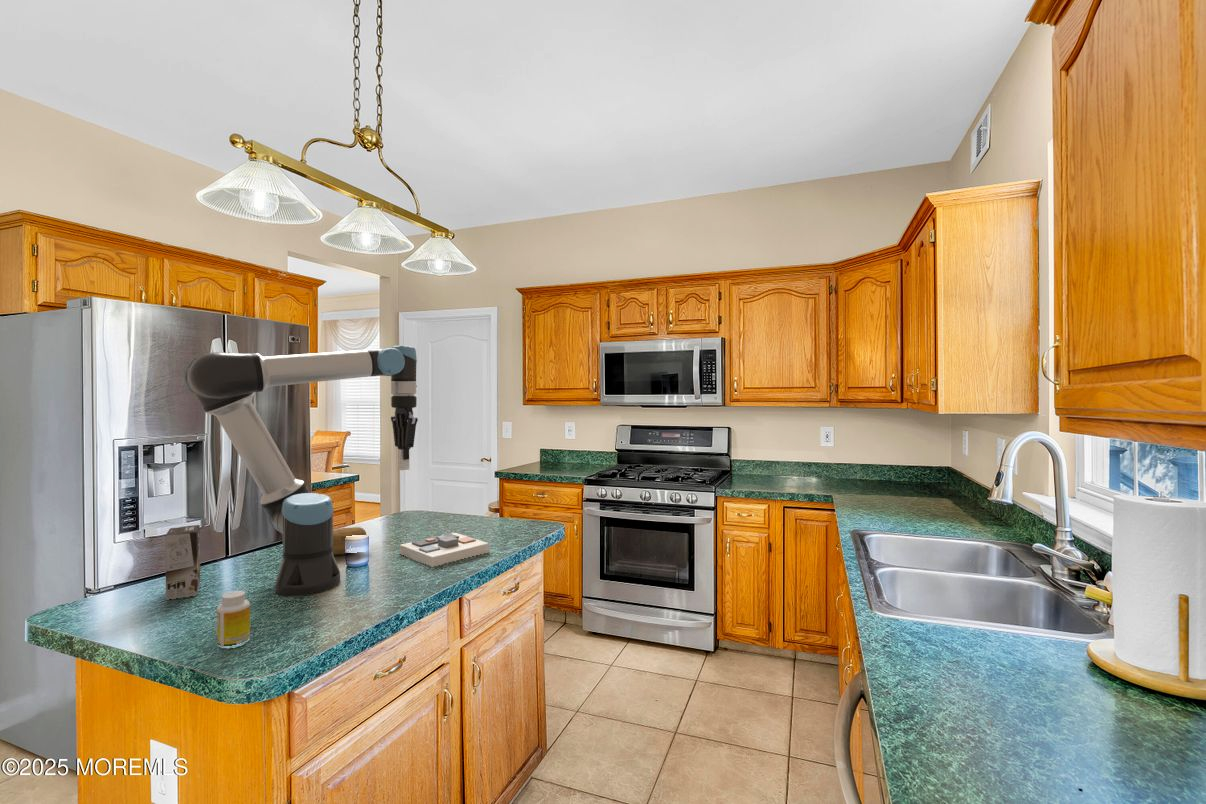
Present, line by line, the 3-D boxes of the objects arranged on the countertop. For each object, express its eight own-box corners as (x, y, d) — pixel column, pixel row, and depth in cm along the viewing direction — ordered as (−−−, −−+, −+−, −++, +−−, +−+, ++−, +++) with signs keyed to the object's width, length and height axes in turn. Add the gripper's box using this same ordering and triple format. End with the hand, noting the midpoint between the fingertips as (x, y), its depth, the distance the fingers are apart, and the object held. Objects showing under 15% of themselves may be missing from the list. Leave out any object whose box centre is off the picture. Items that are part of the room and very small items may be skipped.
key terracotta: (463, 551, 174) (463, 542, 174) (456, 548, 177) (456, 539, 177) (475, 548, 177) (475, 539, 177) (467, 545, 180) (467, 536, 180)
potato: (317, 552, 174) (317, 527, 174) (365, 547, 180) (365, 523, 180) (316, 561, 165) (316, 534, 165) (367, 555, 171) (367, 529, 171)
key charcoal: (445, 551, 169) (445, 541, 169) (438, 548, 172) (438, 538, 172) (458, 548, 172) (458, 538, 172) (450, 545, 175) (450, 536, 175)
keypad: (432, 567, 160) (432, 553, 160) (399, 554, 172) (399, 541, 172) (488, 552, 175) (488, 539, 175) (454, 541, 187) (454, 529, 187)
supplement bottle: (256, 640, 113) (256, 590, 113) (231, 652, 108) (231, 600, 107) (236, 636, 115) (235, 587, 114) (210, 648, 109) (209, 597, 109)
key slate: (426, 560, 164) (426, 550, 164) (419, 557, 167) (419, 548, 167) (439, 557, 167) (439, 547, 167) (432, 554, 170) (432, 545, 170)
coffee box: (197, 596, 137) (197, 531, 136) (164, 601, 133) (164, 535, 133) (201, 585, 145) (200, 524, 144) (170, 589, 141) (169, 527, 141)
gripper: (425, 395, 172) (425, 470, 172) (404, 394, 181) (405, 466, 181) (402, 395, 166) (403, 473, 167) (382, 395, 175) (383, 468, 176)
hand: (404, 469), depth 174 cm, fingers closed
